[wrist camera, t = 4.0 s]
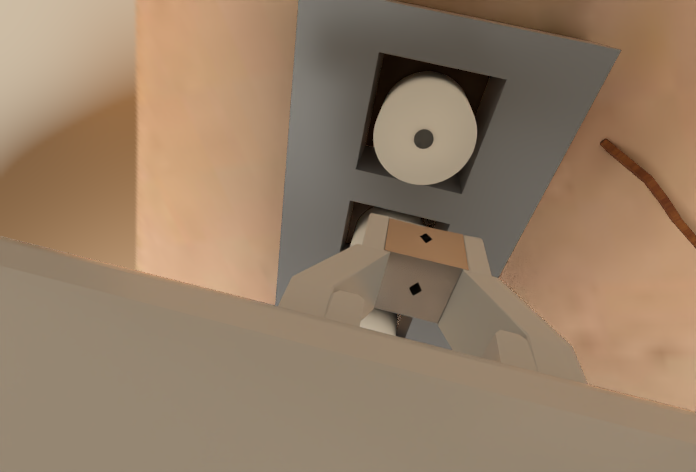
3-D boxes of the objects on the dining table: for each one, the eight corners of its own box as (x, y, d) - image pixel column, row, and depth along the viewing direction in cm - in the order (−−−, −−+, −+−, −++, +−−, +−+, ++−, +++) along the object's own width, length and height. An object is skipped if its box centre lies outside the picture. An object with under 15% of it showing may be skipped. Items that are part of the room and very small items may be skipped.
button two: (403, 301, 28) (401, 339, 25) (389, 342, 30) (385, 380, 27) (342, 286, 28) (332, 321, 25) (333, 328, 31) (323, 364, 28)
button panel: (586, 40, 19) (621, 49, 15) (433, 356, 33) (434, 395, 30) (321, -15, 19) (299, -17, 16) (286, 318, 34) (271, 352, 31)
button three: (436, 213, 23) (437, 245, 20) (415, 270, 26) (414, 306, 23) (362, 196, 23) (353, 225, 20) (350, 254, 26) (340, 287, 23)
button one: (483, 82, 19) (494, 98, 16) (452, 167, 21) (456, 195, 18) (391, 62, 19) (385, 74, 16) (372, 149, 22) (364, 174, 19)
